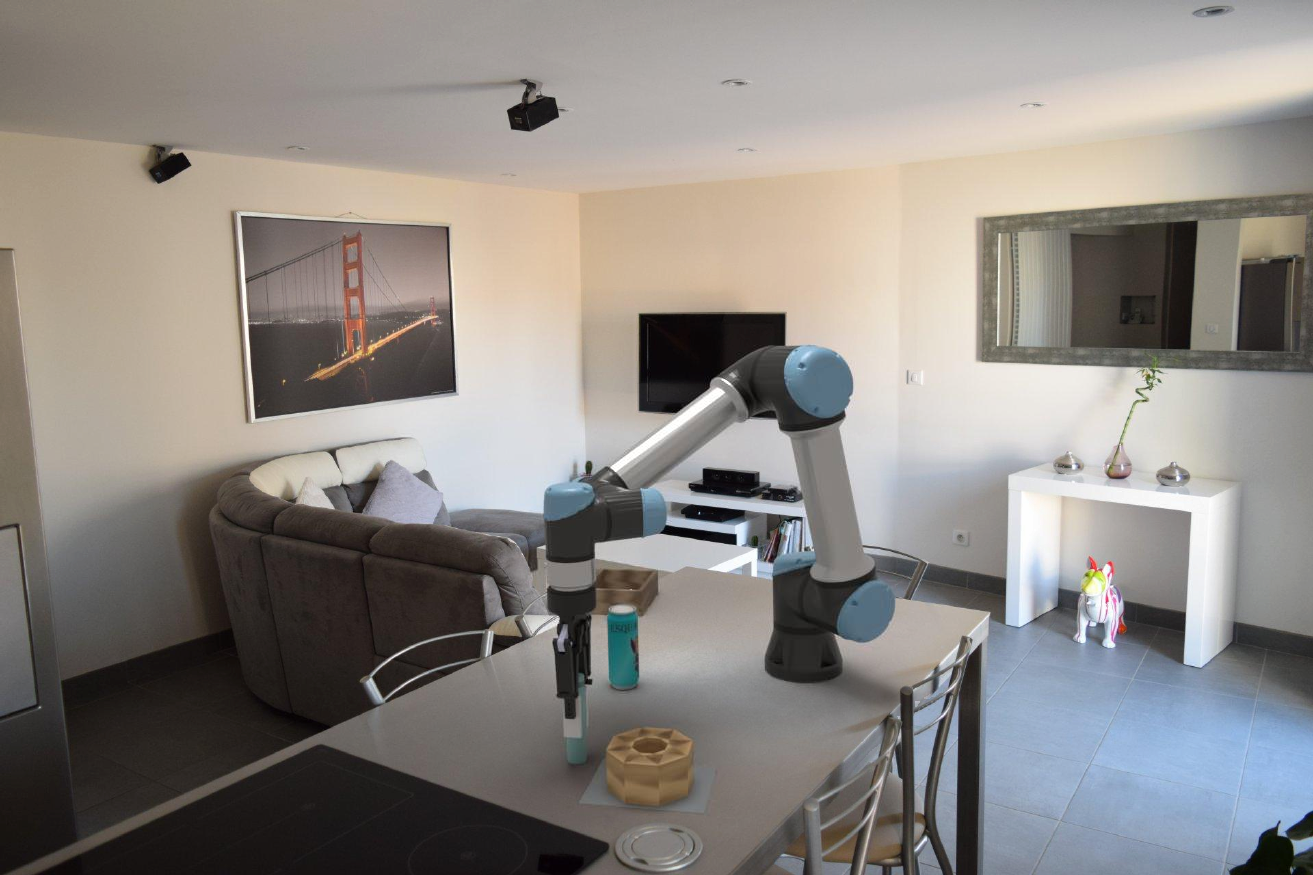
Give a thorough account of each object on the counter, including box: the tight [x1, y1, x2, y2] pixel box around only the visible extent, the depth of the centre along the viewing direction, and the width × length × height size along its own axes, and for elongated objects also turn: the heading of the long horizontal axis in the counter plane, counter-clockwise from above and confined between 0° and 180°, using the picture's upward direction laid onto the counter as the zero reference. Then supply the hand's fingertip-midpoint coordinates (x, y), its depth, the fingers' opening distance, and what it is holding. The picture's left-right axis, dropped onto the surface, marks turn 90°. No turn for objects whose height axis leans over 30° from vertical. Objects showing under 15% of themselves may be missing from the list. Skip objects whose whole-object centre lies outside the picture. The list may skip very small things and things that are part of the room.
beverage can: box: [606, 605, 640, 691], centre depth 176 cm, size 6×6×15 cm
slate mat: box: [578, 757, 719, 815], centre depth 137 cm, size 18×14×1 cm
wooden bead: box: [605, 726, 694, 806], centre depth 137 cm, size 12×12×6 cm
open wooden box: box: [586, 568, 659, 617], centre depth 229 cm, size 15×19×6 cm
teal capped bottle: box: [566, 673, 588, 765], centre depth 145 cm, size 3×3×14 cm
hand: (576, 730), depth 145 cm, fingers closed on teal capped bottle, 3 cm apart
